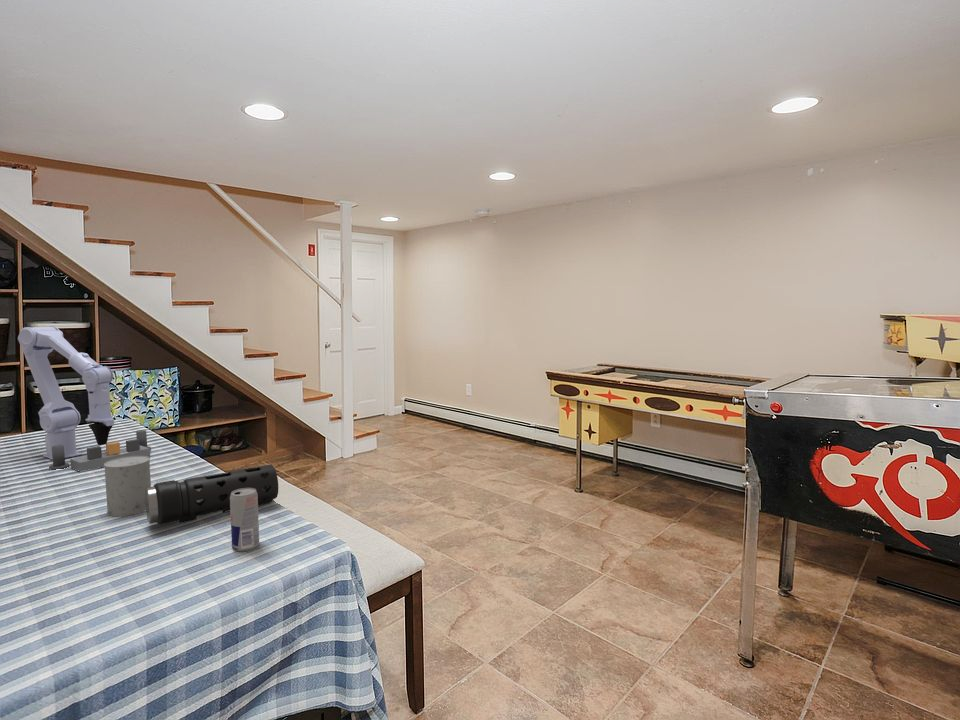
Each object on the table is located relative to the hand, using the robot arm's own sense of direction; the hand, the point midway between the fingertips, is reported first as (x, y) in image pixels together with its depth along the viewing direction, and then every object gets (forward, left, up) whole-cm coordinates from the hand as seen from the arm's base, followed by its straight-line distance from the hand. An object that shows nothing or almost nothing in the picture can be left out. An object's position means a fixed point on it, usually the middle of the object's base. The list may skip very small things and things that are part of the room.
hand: (102, 444), depth 174 cm
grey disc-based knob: (0, -12, -5) cm, 13 cm away
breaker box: (+7, 0, -5) cm, 8 cm away
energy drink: (+97, -11, -5) cm, 98 cm away
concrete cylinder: (+54, -15, -5) cm, 56 cm away
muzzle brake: (+75, -5, -5) cm, 75 cm away
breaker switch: (+8, 0, -2) cm, 8 cm away
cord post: (0, +12, -5) cm, 13 cm away
